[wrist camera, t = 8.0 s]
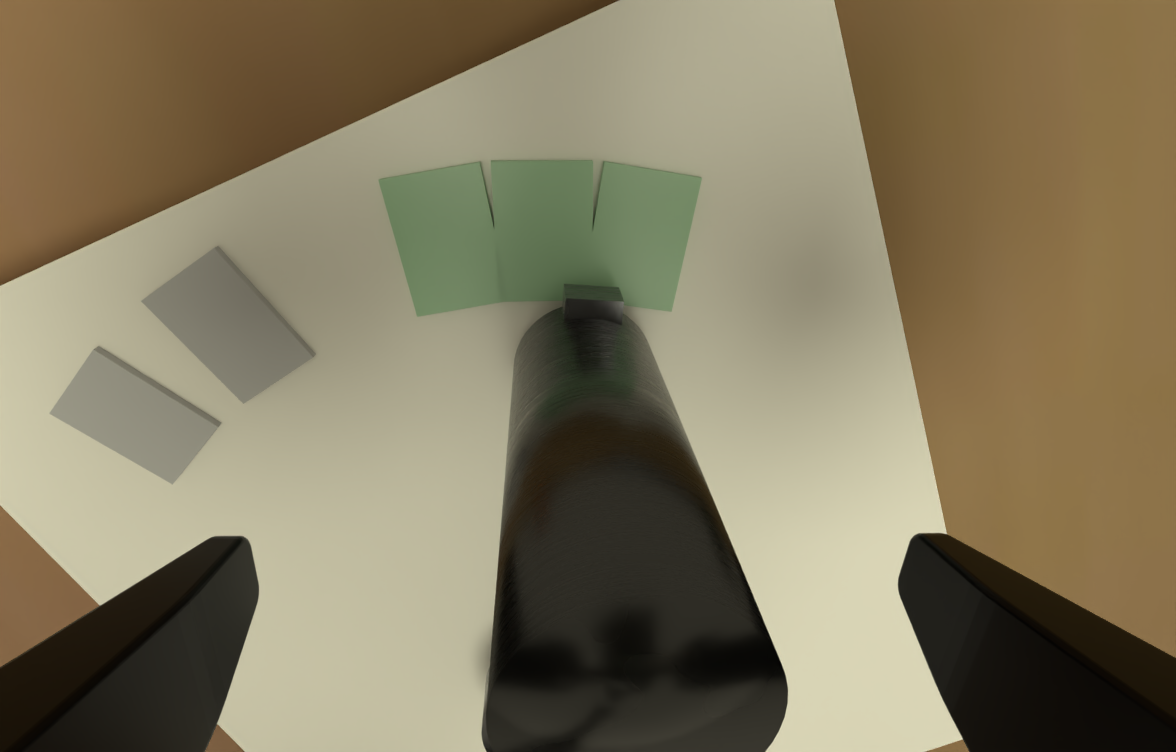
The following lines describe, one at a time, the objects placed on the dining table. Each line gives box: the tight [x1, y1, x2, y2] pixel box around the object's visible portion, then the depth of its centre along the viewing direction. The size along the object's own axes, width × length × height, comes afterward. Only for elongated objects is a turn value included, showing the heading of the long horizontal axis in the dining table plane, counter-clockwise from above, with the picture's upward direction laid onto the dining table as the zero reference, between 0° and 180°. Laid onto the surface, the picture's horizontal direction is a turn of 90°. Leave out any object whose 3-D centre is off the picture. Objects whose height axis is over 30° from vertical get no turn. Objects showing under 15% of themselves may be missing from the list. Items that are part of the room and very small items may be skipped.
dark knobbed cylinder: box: [481, 284, 788, 752], centre depth 13 cm, size 14×4×9 cm, turn 175°
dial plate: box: [0, 0, 962, 752], centre depth 19 cm, size 22×25×2 cm
